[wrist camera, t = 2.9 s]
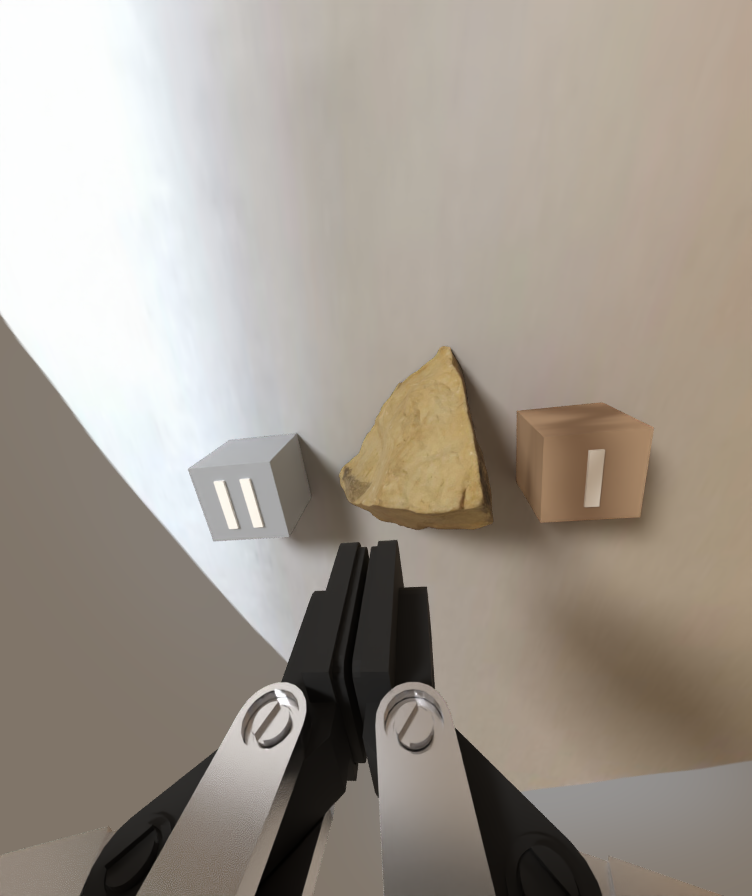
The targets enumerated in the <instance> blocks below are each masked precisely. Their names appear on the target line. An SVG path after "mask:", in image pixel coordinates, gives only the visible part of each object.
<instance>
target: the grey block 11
mask: <svg viewBox="0 0 752 896" xmlns="http://www.w3.org/2000/svg"><path fill="white" fill-rule="evenodd" d="M188 471H189V474H190V477H191V479H192V482H193V485H194V488H195V491H196V493H197V496H198V499H199V502H200V505H201V507H202V510H203V513H204V516H205V519H206V521H207V524H208V527H209V530H210V533H211V535H212V538H213V541H227V540H245V539H262V538H280V537H290V535H291V533H292V531H293V529H294V528H295V526H296V524H297V522H298V520H299V519H300V517H301V515H302V513H303V511H304V510H305V508H306V506H307V504H308V502H309V500H310V499H311V493H310V488H309V484H308V480H307V475H306V471H305V466H304V462H303V458H302V453H301V449H300V445H299V440H298V436H297V433H293V434H283V435H273V436H264V437H254V438H244V439H234V440H229V441H227V442H226V443H224V444H223V445H222V446H220V447H219V448H217V449H216V450H214V451H213V452H212V453H210V454H209V455H207V456H206V457H204V458H203V459H201V460H200V461H199V462H197V463H196V464H194V465H193V466H191V467H190V468H189V469H188Z"/></svg>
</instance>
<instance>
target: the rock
mask: <svg viewBox="0 0 752 896" xmlns="http://www.w3.org/2000/svg"><path fill="white" fill-rule="evenodd" d="M339 477H340V485H341V487H342V488H343V489H344V492H345V495H346V497H347V500H348V501H349V502H350V503H352V504H353V505H355V506H358V507H360V508H362V509H365V510H367V511H369V512H371V513H372V515H373V516H375V517H376V518H378V519H379V520H381V521H385V522H391V523H396V524H398V525H400V526H405V527H407V528H412V529H415V530H420V529H424V528H427V527H431V528H436V529H471V530H474V529H478V528H481V527H484V526H486V525H489V524H492V523H493V514H492V497H491V488H490V484H489V479H488V473H487V470H486V467H485V463H484V458H483V454H482V450H481V448H480V446H479V444H478V442H477V440H476V435H475V430H474V425H473V422H472V419H471V413H470V409H469V405H468V398H467V392H466V385H465V381H464V376H463V372H462V369H461V367H460V365H459V363H458V362H457V360H456V359H455V357H454V356H453V354H452V351H451V348H450V347H445V346H443V347H441V348H440V349H439V351H438V353H437V354H436V356H435V357H434V358H433V359H432V360H430V361H429V362H427V363H426V364H425V365H424V366H422V367H421V368H420V369H419V370H418V371H417V372H415V373H413V374H411V375H410V376H409V377H408V378H407V379H406V380H405V381H404V382H403V383H399V384H398V385H397V387H396V389H395V390H394V392H393V393H392V395H391V396H390V398H389V399H388V400H387V401H386V402H385V403H384V405H383V406H382V408H381V411H380V413H379V415H378V416H377V417H376V420H375V425H374V426H373V427H372V429H371V431H370V432H369V433H368V434H367V435H366V437H365V439H364V442H363V444H362V447H361V449H360V452H359V454H358V455H357V456H355V457H354V458H353V459H352V460H351V461H350V462H349V463H347V464H346V465H345V466H344V467H343V468H342V469H341V472H340V474H339Z"/></svg>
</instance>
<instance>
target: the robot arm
mask: <svg viewBox="0 0 752 896" xmlns="http://www.w3.org/2000/svg"><path fill="white" fill-rule="evenodd" d="M366 758H367V759H368V763H369V767H370V772H371V776H372V780H373V785H374V789H375V793H376V795H377V796H378V798H379V806H380V827H381V847H382V867H383V886H384V887H383V888H384V896H722V895H720V894H717V893H714V892H711V891H708V890H705V889H703V888H699V887H697V886H694V885H691V884H688V883H685V882H682V881H680V880H677V879H674V878H671V877H668V876H665V875H663V874H659V873H657V872H654V871H651V870H648V869H645V868H643V867H640V866H637V865H634V864H631V863H628V862H625V861H622V860H620V859H617V858H614V857H611V856H608V861H605V860H602V859H599V858H597V857H594V856H591V855H588V854H585V853H582V852H580V851H578V850H577V849H576V848H575V847H574V845H573V844H572V843H571V842H570V841H569V840H568V839H567V838H566V837H565V836H564V835H563V834H562V833H561V832H560V831H559V830H558V829H557V828H556V827H555V826H554V825H553V824H552V823H551V822H550V821H549V820H548V819H547V818H546V817H545V816H544V815H543V814H542V813H541V812H540V811H539V810H538V809H537V808H536V807H535V806H534V805H533V804H532V803H531V802H530V801H529V800H528V799H527V798H526V797H525V796H524V795H523V794H522V793H521V792H520V791H519V790H518V789H517V788H516V787H515V786H514V785H513V784H512V783H511V782H509V781H508V780H507V779H506V778H505V777H504V776H503V775H502V774H501V773H500V772H499V771H498V770H497V769H496V768H495V767H494V766H493V765H492V764H491V763H490V762H489V761H488V760H487V759H486V758H485V757H484V756H483V755H482V754H481V753H480V752H479V751H478V750H477V749H476V748H475V747H474V746H473V745H472V744H471V743H470V742H469V741H468V740H467V739H466V738H465V737H464V736H463V735H462V734H461V733H460V732H459V731H458V730H457V729H456V728H455V727H454V723H453V719H452V715H451V712H450V709H449V707H448V704H447V702H446V701H445V699H444V698H443V697H442V696H441V694H440V693H439V692H438V691H436V690H435V683H434V667H433V652H432V637H431V624H430V612H429V603H428V593H427V587H406V588H404V584H403V576H402V569H401V562H400V554H399V547H398V541H397V540H390V541H379V542H378V546H374V547H371V552H370V558H369V555H368V550H367V547H361V545H360V543H359V542H355V543H341V544H340V546H339V549H338V552H337V556H336V559H335V562H334V566H333V569H332V572H331V575H330V579H329V582H328V585H327V588H326V591H315V592H314V593H313V594H312V596H311V599H310V602H309V604H308V607H307V610H306V613H305V616H304V619H303V622H302V624H301V627H300V630H299V633H298V636H297V639H296V642H295V645H294V647H293V650H292V653H291V656H290V659H289V662H288V665H287V667H286V670H285V673H284V676H283V679H282V682H281V683H274V684H271V685H268V686H266V687H264V688H262V689H261V690H259V691H257V692H256V693H255V694H254V695H253V696H252V697H251V698H250V699H249V700H247V702H246V703H245V705H244V706H243V707H242V709H241V710H240V712H239V713H238V715H237V717H236V719H235V720H234V722H233V724H232V726H231V728H230V729H229V731H228V733H227V735H226V736H225V738H224V740H223V742H222V744H221V746H220V747H219V749H217V750H216V751H215V752H214V753H212V754H211V755H210V756H209V757H207V758H206V759H205V760H204V761H202V762H201V763H200V764H198V765H197V766H196V767H195V768H193V769H192V770H191V771H190V772H188V773H187V774H186V775H185V776H183V777H182V778H181V779H179V780H178V781H177V782H176V783H175V784H173V785H172V786H171V787H169V788H168V789H167V790H166V791H164V792H163V793H162V794H161V795H159V796H158V797H157V798H156V799H154V800H153V801H152V802H150V803H149V804H148V805H147V806H145V807H144V808H143V809H142V810H140V811H139V812H138V813H137V814H135V815H134V816H133V817H132V818H130V819H129V820H128V821H127V822H126V823H125V824H124V825H123V826H122V827H121V828H120V829H119V830H115V831H112V830H111V828H110V827H109V826H108V827H104V828H100V829H96V830H92V831H89V832H85V833H82V834H77V835H74V836H70V837H66V838H62V839H58V840H55V841H51V842H47V843H43V844H40V845H36V846H32V847H29V848H24V849H21V850H17V851H13V852H9V853H6V854H4V855H1V856H0V896H312V895H313V891H314V888H315V884H316V880H317V876H318V873H319V869H320V865H321V861H322V857H323V853H324V850H325V846H326V842H327V839H328V835H329V830H330V827H331V823H332V820H333V814H334V807H335V802H336V801H337V800H338V799H339V798H340V797H341V796H342V795H343V794H344V793H345V790H346V783H347V781H356V778H357V770H358V763H365V762H366Z"/></svg>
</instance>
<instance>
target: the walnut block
mask: <svg viewBox="0 0 752 896" xmlns="http://www.w3.org/2000/svg"><path fill="white" fill-rule="evenodd" d="M653 430H654V428H653V427H651V426H649V425H647V424H645V423H643V422H641V421H639V420H637V419H635V418H633V417H631V416H629V415H627V414H625V413H623V412H621V411H619V410H617V409H615V408H613V407H611V406H609V405H607V404H604V403H592V404H582V405H572V406H562V407H552V408H541V409H531V410H521V411H517V450H516V482H517V484H518V486H519V487H520V489H521V491H522V492H523V494H524V496H525V497H526V499H527V501H528V502H529V504H530V506H531V507H532V509H533V511H534V513H535V514H536V516H537V518H538V519H539V521H540V523H543V522H561V521H579V520H598V519H616V518H634V517H640V514H641V507H642V501H643V494H644V488H645V482H646V475H647V469H648V462H649V456H650V450H651V443H652V437H653Z"/></svg>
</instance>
